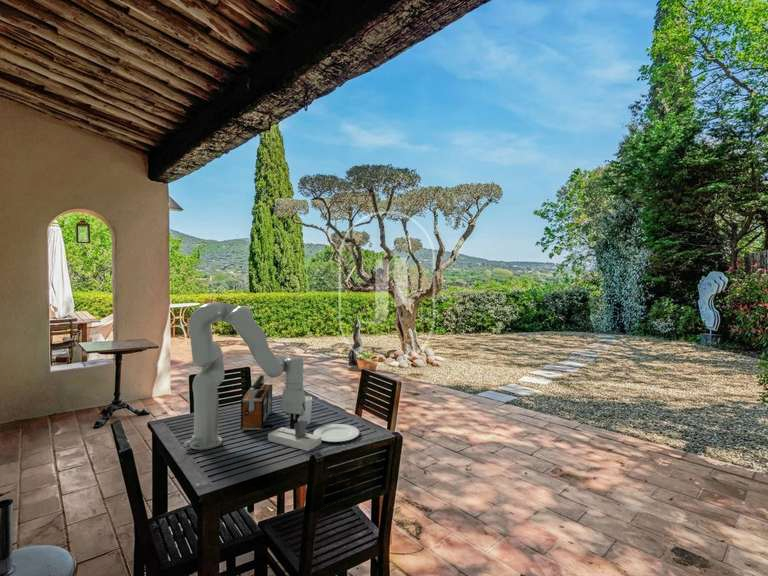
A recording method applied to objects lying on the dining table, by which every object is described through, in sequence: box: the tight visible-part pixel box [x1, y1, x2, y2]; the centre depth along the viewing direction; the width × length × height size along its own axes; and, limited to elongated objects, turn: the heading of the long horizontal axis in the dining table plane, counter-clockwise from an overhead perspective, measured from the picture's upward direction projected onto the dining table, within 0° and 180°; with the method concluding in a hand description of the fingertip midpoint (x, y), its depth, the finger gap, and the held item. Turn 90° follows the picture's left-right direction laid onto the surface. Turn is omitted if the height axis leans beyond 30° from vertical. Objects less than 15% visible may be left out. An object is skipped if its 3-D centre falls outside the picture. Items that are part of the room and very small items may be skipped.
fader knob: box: [294, 420, 308, 438], centre depth 173 cm, size 5×3×6 cm, turn 153°
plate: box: [313, 423, 360, 444], centre depth 183 cm, size 21×21×2 cm
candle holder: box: [298, 395, 313, 426], centre depth 198 cm, size 10×10×12 cm
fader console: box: [267, 426, 323, 452], centre depth 175 cm, size 9×22×3 cm, turn 63°
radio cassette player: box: [240, 374, 273, 431], centre depth 199 cm, size 29×10×20 cm, turn 7°
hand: (293, 427), depth 175 cm, fingers closed
